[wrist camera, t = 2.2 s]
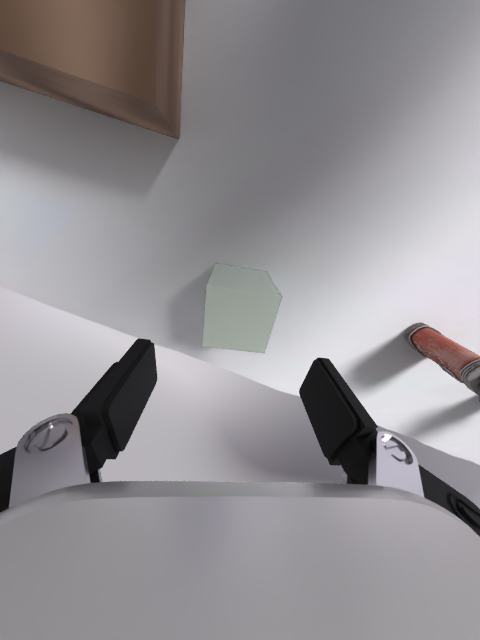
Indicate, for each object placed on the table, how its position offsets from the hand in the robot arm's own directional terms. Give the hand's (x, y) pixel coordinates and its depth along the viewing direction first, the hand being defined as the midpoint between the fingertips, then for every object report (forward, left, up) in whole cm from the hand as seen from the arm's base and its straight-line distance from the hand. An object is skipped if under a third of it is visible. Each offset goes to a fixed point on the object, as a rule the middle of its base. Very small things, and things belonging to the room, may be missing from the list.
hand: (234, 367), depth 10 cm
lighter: (-27, +2, -11) cm, 30 cm away
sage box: (0, -1, -11) cm, 11 cm away
